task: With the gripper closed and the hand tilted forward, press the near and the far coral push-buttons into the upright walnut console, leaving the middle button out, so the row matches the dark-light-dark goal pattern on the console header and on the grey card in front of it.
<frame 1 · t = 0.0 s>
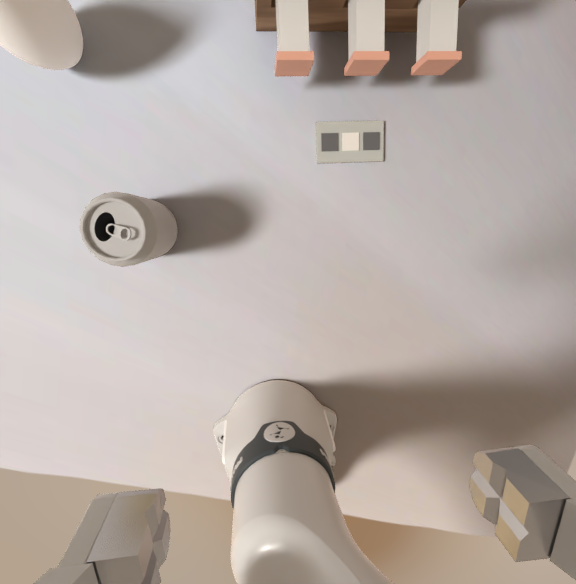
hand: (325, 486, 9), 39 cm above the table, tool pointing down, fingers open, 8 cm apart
cream tall ovoid: (66, 50, 39), on the table
button middle: (365, 22, 36), point 6 cm above the table, slide at 0.0 cm
can: (150, 228, 44), on the table
console: (348, 22, 41), on the table
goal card: (349, 142, 44), on the table
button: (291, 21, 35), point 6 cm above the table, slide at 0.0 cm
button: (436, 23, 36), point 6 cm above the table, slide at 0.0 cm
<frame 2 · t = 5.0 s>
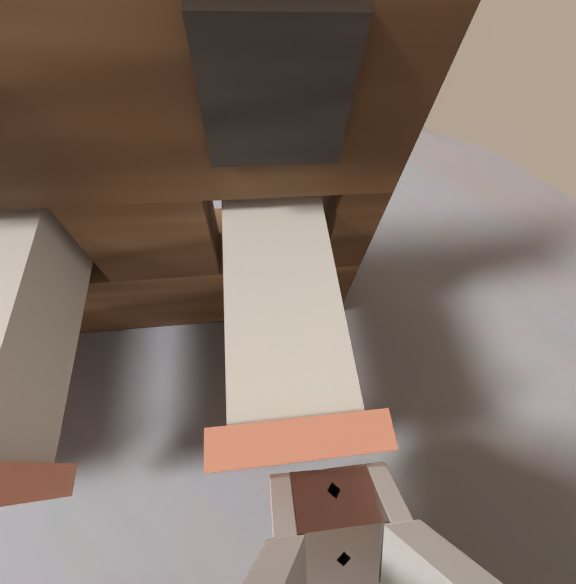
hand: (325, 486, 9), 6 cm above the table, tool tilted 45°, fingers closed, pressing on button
console: (109, 311, 17), on the table
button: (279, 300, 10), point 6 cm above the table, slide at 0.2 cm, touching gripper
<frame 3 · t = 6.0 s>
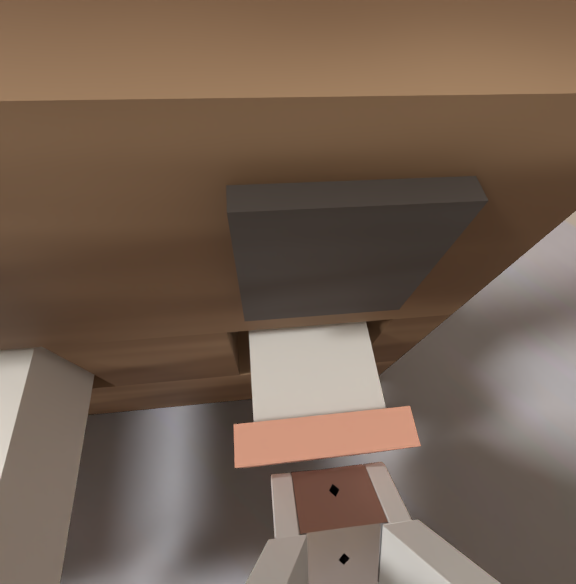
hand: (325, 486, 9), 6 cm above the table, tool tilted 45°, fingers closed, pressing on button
console: (113, 389, 15), on the table
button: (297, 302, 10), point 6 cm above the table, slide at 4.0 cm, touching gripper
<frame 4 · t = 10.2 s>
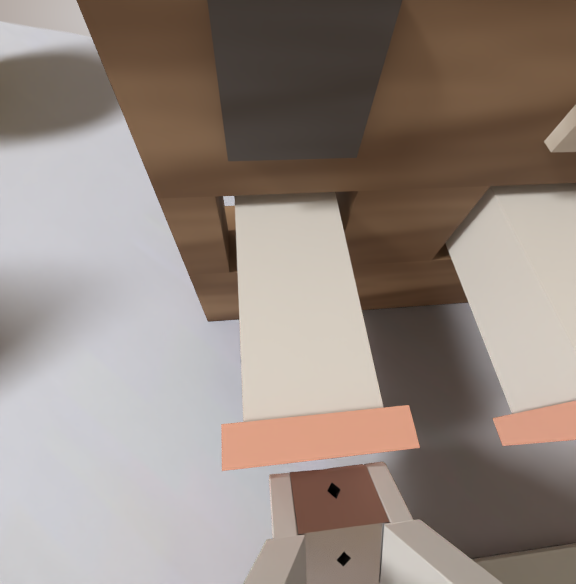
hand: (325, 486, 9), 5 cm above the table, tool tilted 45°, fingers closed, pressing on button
button middle: (540, 285, 11), point 7 cm above the table, slide at 0.0 cm
console: (424, 288, 18), on the table
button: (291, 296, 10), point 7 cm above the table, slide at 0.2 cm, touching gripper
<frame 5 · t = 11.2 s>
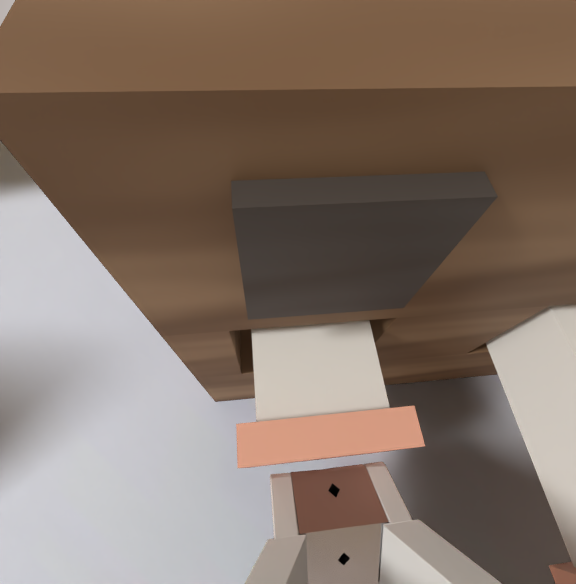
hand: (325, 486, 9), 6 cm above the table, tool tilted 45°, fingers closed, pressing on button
console: (449, 358, 17), on the table
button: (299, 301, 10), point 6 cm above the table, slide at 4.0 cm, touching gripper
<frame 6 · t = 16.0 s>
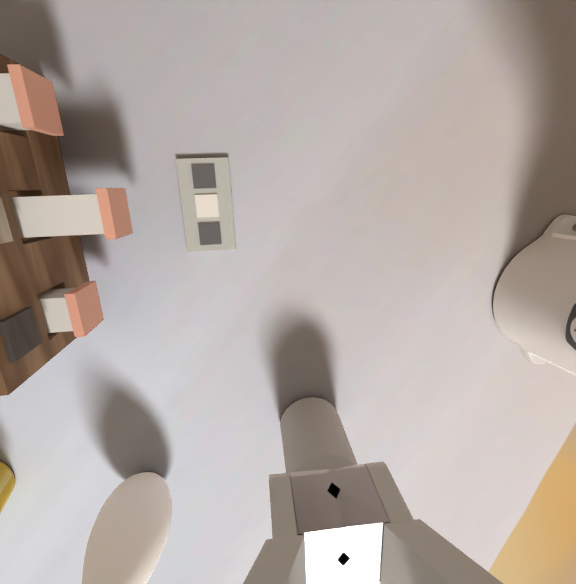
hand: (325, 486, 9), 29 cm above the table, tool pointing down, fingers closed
cream tall ovoid: (150, 478, 43), on the table
button middle: (64, 214, 27), point 7 cm above the table, slide at 0.0 cm
can: (308, 417, 43), on the table
console: (63, 211, 33), on the table
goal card: (207, 205, 34), on the table
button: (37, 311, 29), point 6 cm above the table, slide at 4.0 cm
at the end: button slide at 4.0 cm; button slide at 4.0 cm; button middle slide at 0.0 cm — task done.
